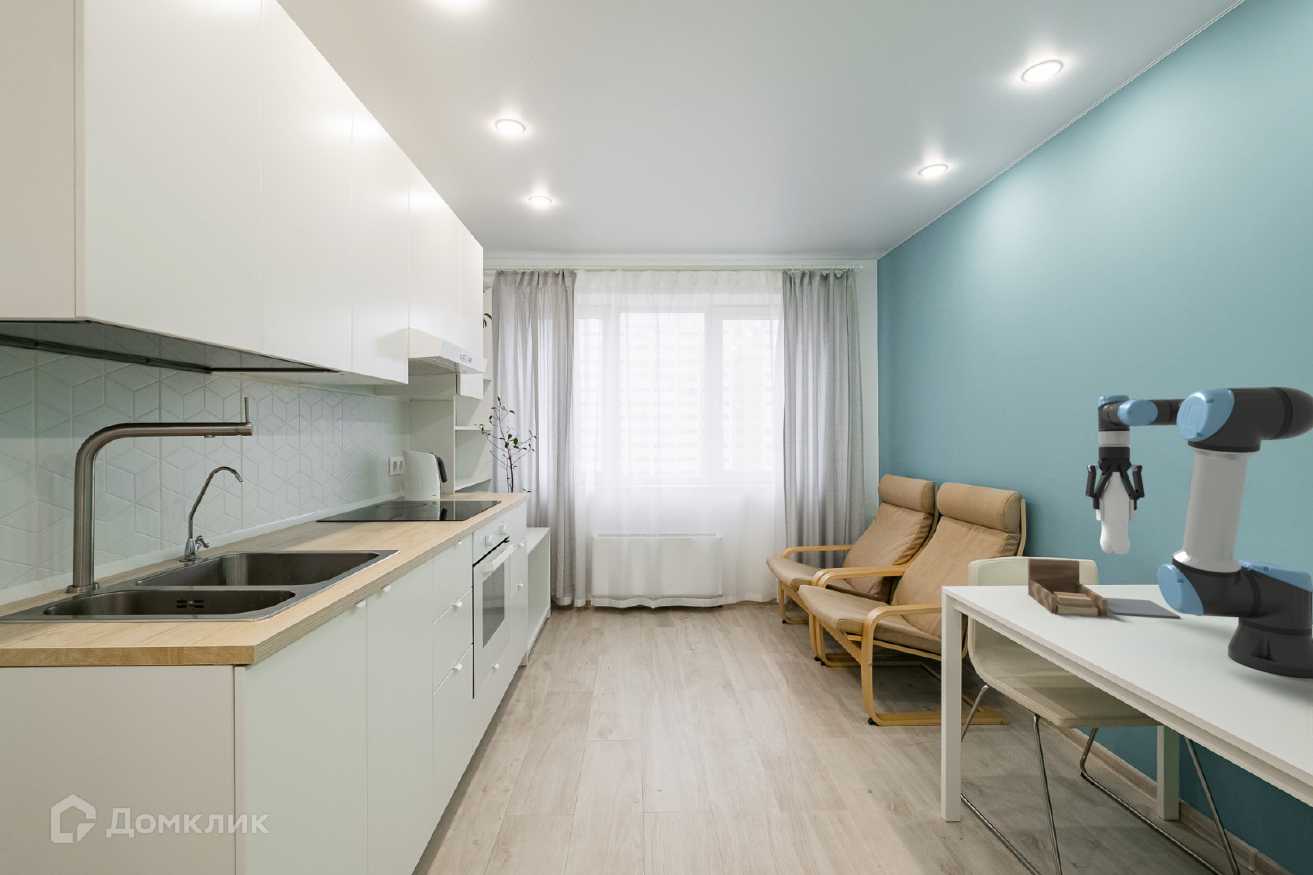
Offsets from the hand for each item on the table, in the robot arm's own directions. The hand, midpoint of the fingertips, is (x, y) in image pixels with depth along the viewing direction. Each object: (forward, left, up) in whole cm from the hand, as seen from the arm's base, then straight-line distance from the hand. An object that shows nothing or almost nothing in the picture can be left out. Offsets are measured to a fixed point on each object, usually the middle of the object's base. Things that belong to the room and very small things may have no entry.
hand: (1114, 520), depth 173 cm
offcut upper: (-7, +14, -25) cm, 29 cm away
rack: (-1, +14, -27) cm, 30 cm away
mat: (0, -4, -27) cm, 27 cm away
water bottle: (0, 0, -10) cm, 10 cm away
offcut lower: (-7, +14, -27) cm, 31 cm away
